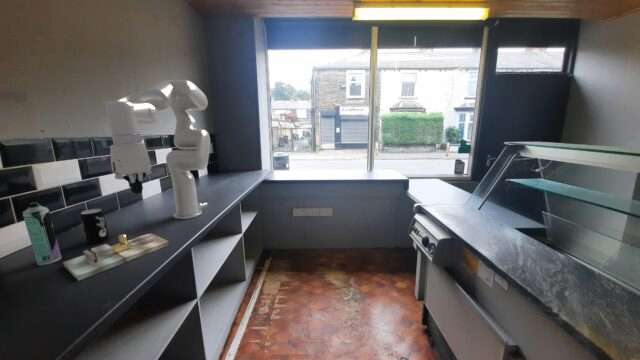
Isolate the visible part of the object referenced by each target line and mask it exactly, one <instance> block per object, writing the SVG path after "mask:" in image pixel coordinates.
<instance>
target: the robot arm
mask: <svg viewBox="0 0 640 360" xmlns="http://www.w3.org/2000/svg"><path fill="white" fill-rule="evenodd" d="M208 105H209V102H208V98H207V96H206V94H205V93H204V92H203V90H201V89H200V88H199V87H198V86H197V85H196V84H195V83H193V82H191V81H190V80H188V79H166V80H163V81H162V82H160V83H158V84H157V85H155V86H153V87H151V88H149V89H146V90H143V91H139V92H136V93H131V94H128V95H125V96H122V97H120V98H119V99H117V100H111V101H107V102H106V103H105V109H106V115H107V119H108V125H109V128H110V134H111V138H112V144H111V145H110V152H109V153H110V161H111V162H110V163H111V164H110V165H111V169H112V173H113V174H114V179H116V180H125V181H126V182H128V183H129V185H130V191H131V192H132V193H133V194H135V195H138V194H142V193H143V190H144V187H143V180H144V179H145V177H146V176H148V175H151V174H153V172H152V170H151V169H152V164H151V163H152V162H151V160H150V156H149V153H148V150H147V147H146V145H145V143H144V142H143V141H144V140H146V136H145V135H142V134H141V132H140V127H139V125H148V124H153V123H154V122H157V120H158V117H159V113H158V112H159V111H163V110H165V109H168V107H170V108H171V110H172V112H173V113H174V116H175V119H176V123H175V124H176V125H175V131H174V136H173V144H174V146H175V148H177V149H176V150H175V149H174V150H171V151H169V152H168V153H167V154H166V157H165V162H166V165H167V168H168V170H169V173H170V179H171V182H172V189H173V190H172V191H173V195H174V196H173V198H174V203H175V210H176V211H175V212H174V213H173V215H172V216H173V219H176V220H188V219H192V218H196V217H199V216H201V215H202V214H203V210H202V209H203V208H205V207H208V202H203V203H202V202H199V203H198V195H197V187H196V186H197V185H196V179H195V177H194V175H193V173H191V171H203V170H205V169H206V168H207V167H208V163H209V157H210V149H211V137H210V134H209V132H208V131H207V130H206V129H204V128H196V127H197V122H196V121H197V120H196V119H195V118H194V117H193V115H191V113H190V112H189V111H204V110H206V109H207V107H208ZM134 175H135V177H134Z"/></svg>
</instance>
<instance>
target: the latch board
mask: <svg viewBox="0 0 640 360" xmlns="http://www.w3.org/2000/svg"><path fill="white" fill-rule="evenodd" d="M127 241H128V242H130V243H131V248H128V249H125V250H123V251H120V252H117V253H114V254H113V251H112V247H111V246H114V245H117V244H120V242H119V243H116V244H113V245H109V244H107V243H105V244H102V245H98V246H95V247H92V248H90V250H91V251H89V250H88V249H86V250H83V255H80V256H76V257H74V258H72V259H71V258H70V259H69V260H68V259H67V260H66V261H63V262H62V264H63V267H64V268H65V269H66V270H67V271H68V272H69V273H70V274H71V275H72V276H73V277H74V278H75V279H76V280H77V281H78V282H79V281H81V280H85V279H86V278H89V277H92V276H94V275H97V274H99V273H101V272H105V271H107V270H109V269H112V268H114V267H117V266H120V265H122V264H125V263H127V262H129V261H132V259H133V260H135V259H137V257H138V258H140V257H143V256H145V255H148V254H150V253H152V252H155V251H157V250H158V251H159V250H160V249H162V248H165V247H166V248H167V247H168V246H170V242H169V240H166V239H165V238H162V237H160V236H158V235H156V234H155V233H154V234H153V233H151V232H149V233H147V234H143V235H139V236H137V237H134V238H131V239H127ZM92 253H95V254H96V258H97V260H95V261H94V258H93V254H92ZM134 258H135V259H134Z"/></svg>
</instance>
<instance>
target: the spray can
mask: <svg viewBox="0 0 640 360" xmlns="http://www.w3.org/2000/svg"><path fill="white" fill-rule="evenodd" d="M22 217H23V219H24V223H25V228H26V231H27V233H28V237H29V240H30V243H31V247H32V250H33V253H34V257H35V261H36V264H37V265H38V266H45V265H50V264H53V263H55V262H58V261H60V260H61V259H62V254H61V250H60V247H59V243H58V239H57V236H56V232H55V228H54V223H53V221H52V216H51V213H50V209H49V208H48V207H46V206H42V204H39V203H38V201H33V202H30V203H29V206H28V207H27V209H26V210H24V211H22Z"/></svg>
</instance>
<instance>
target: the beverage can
mask: <svg viewBox="0 0 640 360" xmlns="http://www.w3.org/2000/svg"><path fill="white" fill-rule="evenodd" d="M80 214H81V215H80V217H79V218H80V221H81V227H82V230H83V233H84V238H85V242H86V243H88V244H90V245H93V244H99V243H102V242H105V241H107V240H108V238H109V237H110V236H109V231H108V226H107V222H106V217H105V212H104V211H102V208H91V209H87V210H83V211H81V213H80Z"/></svg>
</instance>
